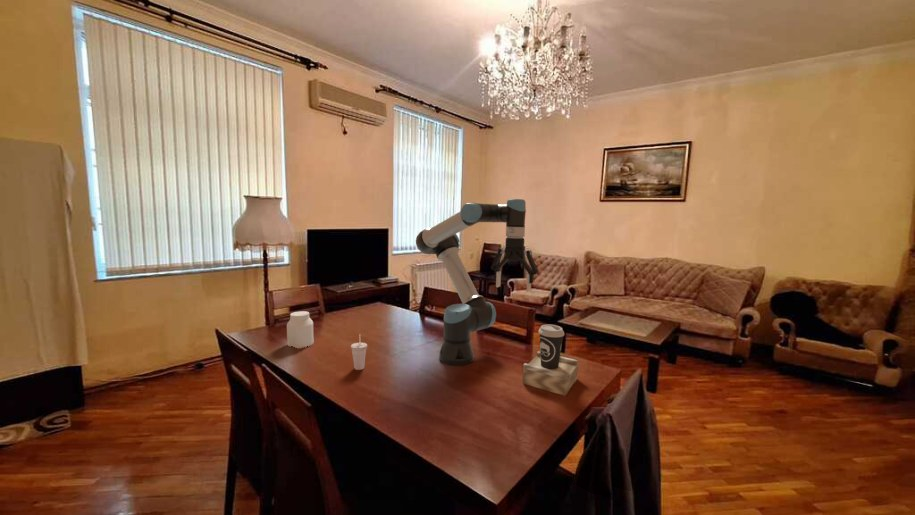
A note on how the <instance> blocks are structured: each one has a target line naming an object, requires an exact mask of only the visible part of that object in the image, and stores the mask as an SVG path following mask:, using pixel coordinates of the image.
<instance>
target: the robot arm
mask: <svg viewBox="0 0 915 515" xmlns="http://www.w3.org/2000/svg"><path fill="white" fill-rule="evenodd" d="M526 208H527V207H526V200H525V199H523V198H522V199H521V198H511V199H510V198H509V199H507V200H506V204H505V203H504V204H499V203H498V204H493V203H480V202H479V203H478V202H467V203H464V204H463V205H462V207H461V209H460V211H459V212H456V213H455V214H454V215H451V216H450V217H447V218H446V219H444V220H443V221H440V223H438V224H436V225H434V226H432V227H427V228H425V229H422V230H421V231H420V232H418V234H417V235H416V239H415V246H416V247H417V249H418V250H419V251H420V253H422V254H425V255H435V256H436V258H437V260H438V261H440V262H442V263H443V265H444V268H445V270H446V272H447V274H448V276H449V278H450V280H451V282H452V284H453V286H454V288H455V291H456V292H457V294H458V296H459V299H460V301H461V303H454V304H450V305H448V306H447V307H445V309H444V314H443V342H442V343H441V344H442V345H441V348H440V351H439V354H438V355H439V356H438V357H439V360H440V362H441V363H444V364H445V365H450V366H465V365H468V364H471V363H473V361H474V359H475V358H474V357H475V353H474V351H473V348H472V344H471V333H474V332H477V331H481V330H485V329H488V328H490V327H492V326H493V325H494V324H495V322H496V318H497V311H496V307H495V306H494V305H493V303H492V302H489V301H486V299H485V298H484V296H483V295H480V294H479V292H478V291H477V289H476V287H475V284H474V283H473V281H472V279H471V276H470V275H469V273H468V271H467V269H466V267H465V264H464V263H463V261H462V258H461V257H460V255H459V252H460V239H459V236H458V235H457V234H458V233H461V232H462V231H464V230H466V229H468V228H470V227H472V226H474V225H476V224H478V223H505V225H506V226H505V229H506V230H505V237H506V238H505V248H500V247H499V248H498V249H497V253H496V256H495V258H494V260H493V261H492V265H491V266H490V270H492V271H494V280H495V287H496V288H500V287H501V280H502V272H501V269H502V268H503V267H504V265H506V263H508V261H514V262H516V261H518V262H519V263H521V265H522V266H523V268H524V269H525V270H526V272H527V275H526V292H531V289H532V284H533V283H534V277H535V275H537V274H539V269H538V267H537V265H536V263H535V260H534V257H533V255H532V254H533V253H532V250H531V249H529V250H525V238H524V237H525V232H526V231H525V228H526V226H525V225H526V212H527V209H526ZM503 254H505V256H504V257H503V258H502V256H503ZM524 255H525V256H526V258H527V260H528V262H527V261H526V258H525V257H524ZM501 258H502V260H501ZM500 260H501V261H500Z"/></svg>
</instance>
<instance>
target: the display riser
mask: <svg viewBox="0 0 915 515" xmlns="http://www.w3.org/2000/svg"><path fill="white" fill-rule="evenodd" d="M522 366H523V369H522V370H523V371H522V384H523V385H527V386H529V387H530V386H531V387H533V388H536V389H540V390H544V391H548V392H551V393H554V394H558V395H561V396H564V397H566V395H567V394H568V393H569V392H570V390H571V388H572V387H573V385H574V384H575V383H576V381H577V380H578V368H579V367H578V366H579V360H578V359H575V358H570V357H565V356H562V355H560V359H559V366H558V368H557V369H546V368H544V367H542V366H541V355H540V350H539V351H537V352H536V356H535V357H534V358H533V359H531V361H530V362H528V363H526V362H524V363H523V365H522Z"/></svg>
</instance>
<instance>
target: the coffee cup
mask: <svg viewBox="0 0 915 515" xmlns="http://www.w3.org/2000/svg"><path fill="white" fill-rule="evenodd" d="M538 334H539V349H540V350H539V351H540V355H541V366H542V367H544V368H546V369H557V368H558V366H559V359H560V356H561V352H562V346H563V339H564V336H565V331H564V330H563V327H562V326H559V325H555V324H542V325H541V326H540V327H539V328H538Z"/></svg>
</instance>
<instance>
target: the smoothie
mask: <svg viewBox="0 0 915 515" xmlns="http://www.w3.org/2000/svg"><path fill="white" fill-rule="evenodd" d="M358 336H359V337H358V339H359V342H354V343H352V344H351V345H350V349H351V353H352V359H353V366H354V370H356V371H361V370H364V369H365V363H366V354H367V348H368V344H367V343H366V342H362V341H361V339H362V338H361V337H362V336H361V333H360V334H359V335H358Z"/></svg>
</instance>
